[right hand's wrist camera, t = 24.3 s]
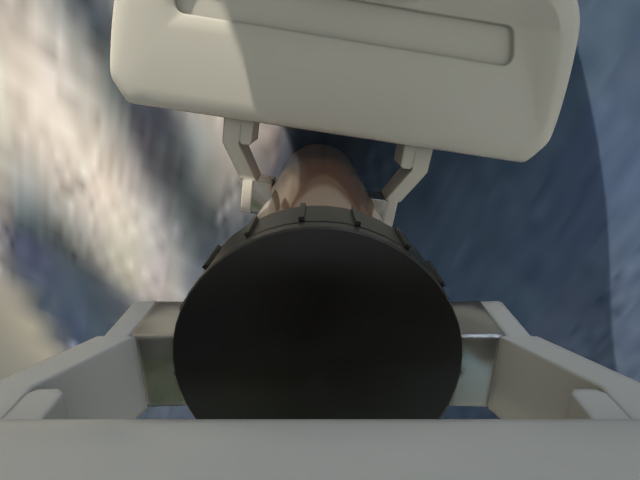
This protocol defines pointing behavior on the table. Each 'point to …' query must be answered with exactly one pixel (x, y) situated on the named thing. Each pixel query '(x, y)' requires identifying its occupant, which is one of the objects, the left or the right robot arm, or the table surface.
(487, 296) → the table surface
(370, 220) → the lid
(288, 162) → the brown cylinder
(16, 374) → the right robot arm
